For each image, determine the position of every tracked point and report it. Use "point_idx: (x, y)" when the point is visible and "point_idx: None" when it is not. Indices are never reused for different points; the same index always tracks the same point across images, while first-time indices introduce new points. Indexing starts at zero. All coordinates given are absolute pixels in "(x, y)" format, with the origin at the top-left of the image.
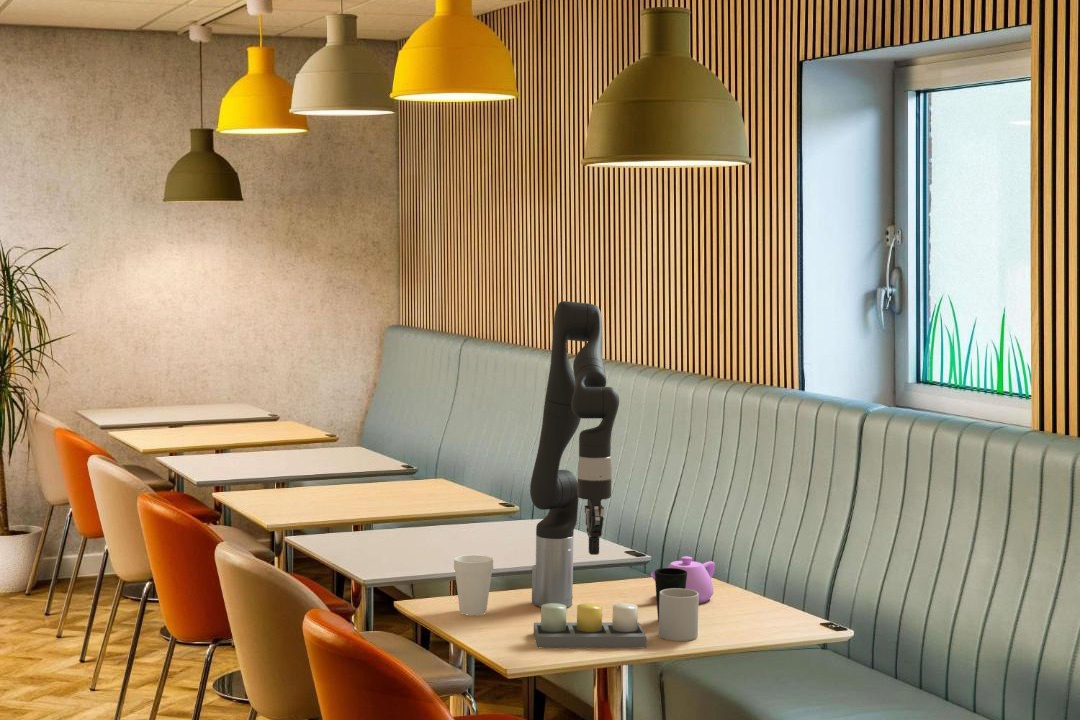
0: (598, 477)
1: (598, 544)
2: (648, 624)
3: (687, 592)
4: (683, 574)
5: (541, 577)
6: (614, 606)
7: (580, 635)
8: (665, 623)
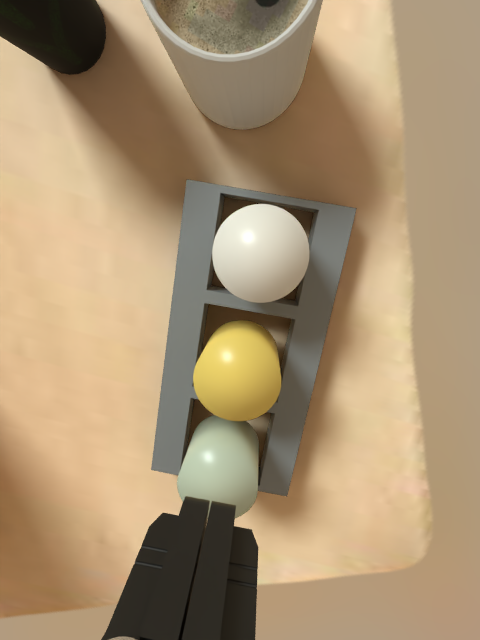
0: None
1: (228, 582)
2: (97, 119)
3: None
4: None
5: None
6: (254, 296)
7: (300, 394)
8: (274, 101)
